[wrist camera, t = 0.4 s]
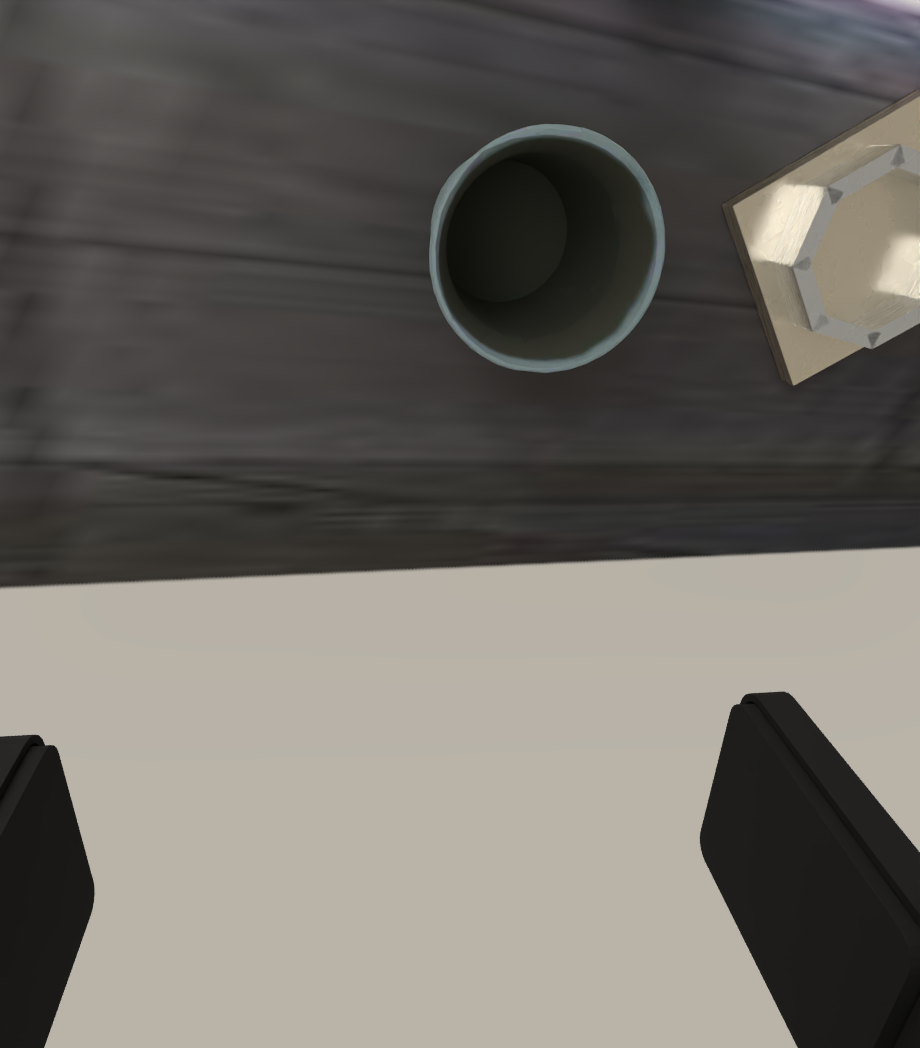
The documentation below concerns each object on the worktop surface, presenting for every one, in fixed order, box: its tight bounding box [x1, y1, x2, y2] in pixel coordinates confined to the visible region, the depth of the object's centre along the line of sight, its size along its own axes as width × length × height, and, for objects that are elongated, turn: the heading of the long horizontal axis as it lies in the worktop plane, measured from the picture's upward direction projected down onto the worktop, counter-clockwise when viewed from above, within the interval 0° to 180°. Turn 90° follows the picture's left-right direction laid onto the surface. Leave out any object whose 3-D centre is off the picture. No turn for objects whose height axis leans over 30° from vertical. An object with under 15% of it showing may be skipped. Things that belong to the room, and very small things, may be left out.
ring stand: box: [721, 90, 920, 386], centre depth 43 cm, size 12×12×4 cm
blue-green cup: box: [429, 124, 665, 373], centre depth 37 cm, size 10×10×12 cm
